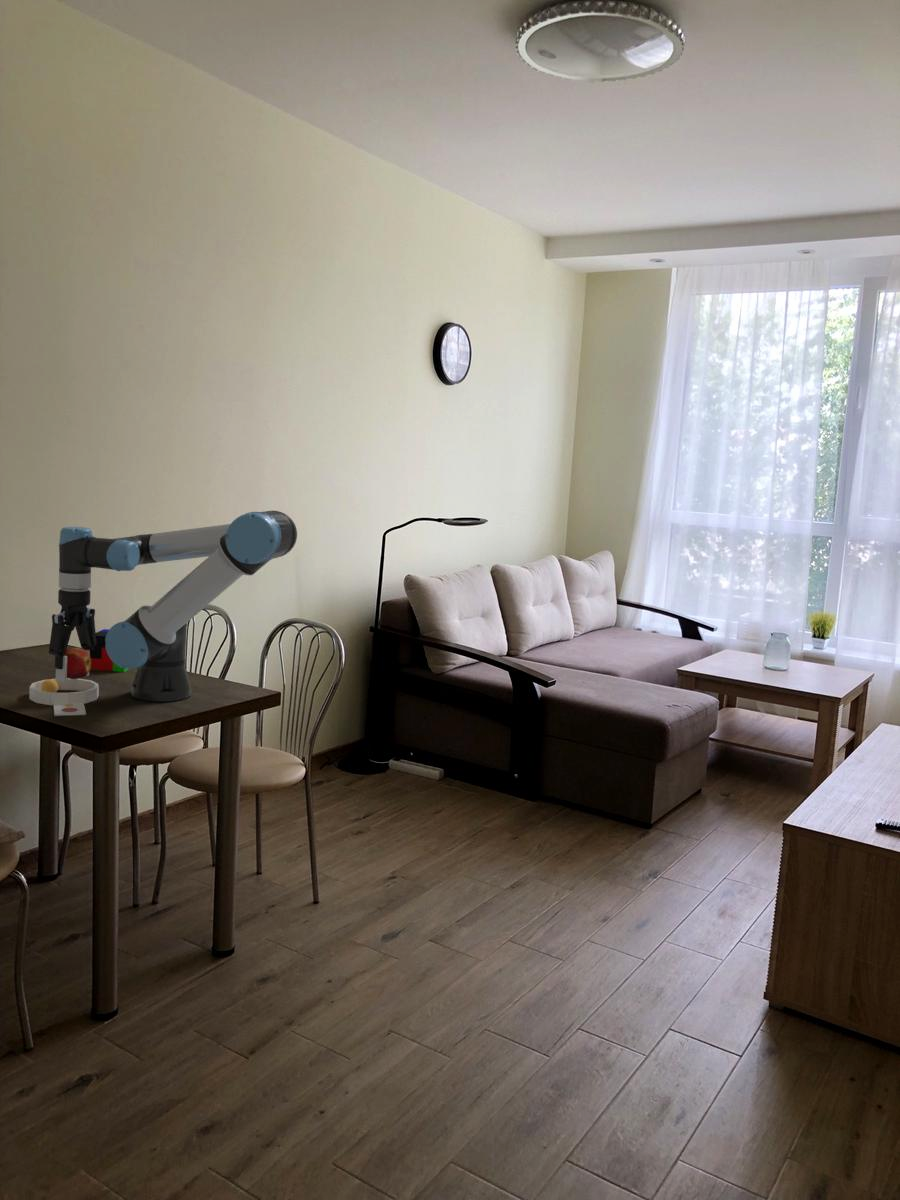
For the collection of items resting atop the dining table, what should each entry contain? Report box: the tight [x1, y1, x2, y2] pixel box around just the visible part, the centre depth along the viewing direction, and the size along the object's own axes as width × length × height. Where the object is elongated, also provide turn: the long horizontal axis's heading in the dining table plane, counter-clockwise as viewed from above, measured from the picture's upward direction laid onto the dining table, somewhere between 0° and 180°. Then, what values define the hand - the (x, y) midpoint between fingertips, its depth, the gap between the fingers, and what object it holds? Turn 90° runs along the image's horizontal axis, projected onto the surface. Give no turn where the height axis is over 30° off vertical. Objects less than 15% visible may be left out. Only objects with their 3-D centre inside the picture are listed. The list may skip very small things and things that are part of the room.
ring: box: [28, 678, 100, 706], centre depth 254 cm, size 16×16×3 cm
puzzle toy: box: [90, 628, 130, 673], centre depth 290 cm, size 10×10×10 cm
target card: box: [53, 702, 87, 717], centre depth 244 cm, size 10×7×1 cm
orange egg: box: [41, 678, 59, 693], centre depth 255 cm, size 4×4×4 cm
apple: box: [64, 646, 91, 679], centre depth 252 cm, size 8×8×8 cm
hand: (72, 677), depth 253 cm, fingers closed on apple, 8 cm apart
